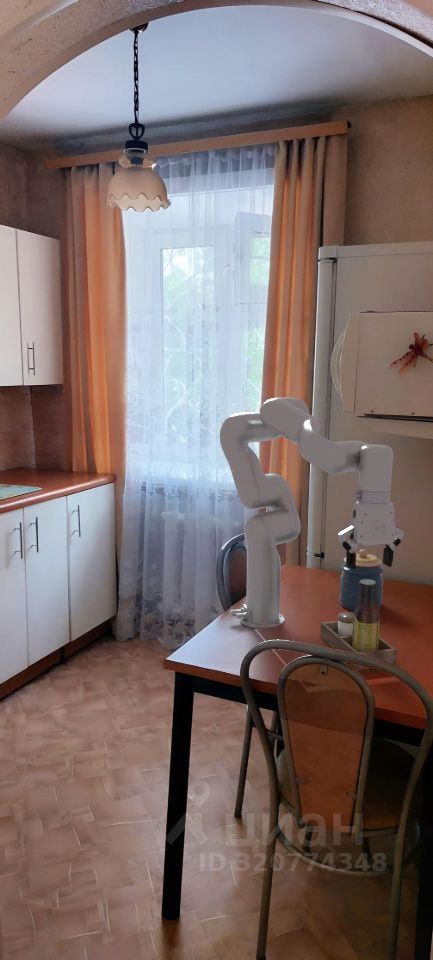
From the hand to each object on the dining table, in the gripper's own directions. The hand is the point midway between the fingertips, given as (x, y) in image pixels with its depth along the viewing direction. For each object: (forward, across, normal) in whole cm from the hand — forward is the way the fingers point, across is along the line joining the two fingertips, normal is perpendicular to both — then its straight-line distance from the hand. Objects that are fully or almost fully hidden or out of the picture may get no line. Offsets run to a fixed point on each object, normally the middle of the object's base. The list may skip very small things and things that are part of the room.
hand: (369, 566), depth 159 cm
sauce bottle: (+24, 0, 0) cm, 24 cm away
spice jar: (+24, 0, +9) cm, 25 cm away
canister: (+25, +18, +36) cm, 48 cm away
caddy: (+24, 0, +4) cm, 25 cm away
